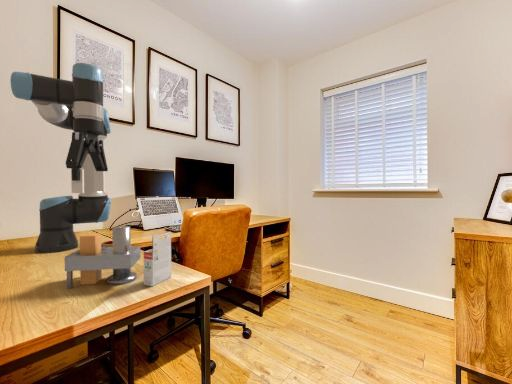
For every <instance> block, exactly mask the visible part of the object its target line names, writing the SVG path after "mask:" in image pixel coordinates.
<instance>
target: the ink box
mask: <svg viewBox="0 0 512 384" xmlns="http://www.w3.org/2000/svg"><path fill="white" fill-rule="evenodd" d="M171 233H172V232H171V230H170V231H167V232H163V233H159V234H154V235H152V236H151V238H152V241H151V242H152V249H148V250H145V251H143V285H145V286H148V287H149V286H150V287H154V286H157V285H159V284H161V283H163V282H165V281H167V280H169V279H170V278H172V234H171ZM162 236H165V237H163V238H161V237H162Z"/></svg>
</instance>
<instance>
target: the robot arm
mask: <svg viewBox="0 0 512 384" xmlns="http://www.w3.org/2000/svg"><path fill="white" fill-rule="evenodd" d="M71 77H72V79H71V80H67V79H62V78H55V77H50V76H45V75H42V74H41V75H39V74H35V73H30V72H23V71H13V72H12V73H11V75H10V88H11V92H12V94H13V96H14V98H16V99H20V100H23V101H24V100H25V101H31V102H32V104H33V105H34V106H35V107H36V108H37V112H38V115H39V116H40V117H41V118H42V119H43V120H45V121H46V122H48V123H49V124H51V125H53V126H56V127H57V128H61V129H64V130H69V131H70V130H71V131H72V132H71V141H70V145H69V148H68V152H67V155H66V159H65V166H66V169H70V172H71V173H70V174H71V177H70V178H71V180H70V181H71V182H70V183H71V194H78V195H77V197H78V198H74V197H73V195H64V196H62V195H61V196H54V197H48V198H47V197H46V198H43V199H41V200H40V202H39V209H38V211H39V235H38V237H37V240H36V243H35V246H34V251H35V252H36V253H43V254H44V253H45V254H46V253H58V252H64V251H70V250H73V249H76V248H78V247H79V241H78V238H77V235H76V233H75V230H74V225H77V224H78V225H79V224H93V223H95V224H98V223H103V222H107V221H108V220H109V219H110V212H111V203H112V198H110V197H108V193H107V192H106V190H105V188H106V187H105V186H106V185H105V184H106V183H105V172H108V170H109V168H108V164H107V159H106V154H105V149H104V141H105V140H106V139H107V138H108V135H109V134H111V124H110V123H111V122H110V118H109V117H110V116H109V113H108V110H107V108H105V107H104V74H103V71H102V69H101V68H99V67H98V66H96V65H93V64H90V63H86V62H76V63H74V64H73V65H72V71H71Z"/></svg>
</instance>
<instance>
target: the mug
mask: <svg viewBox="0 0 512 384" xmlns="http://www.w3.org/2000/svg"><path fill="white" fill-rule="evenodd" d="M101 247H113V240H107V241H103V242H101Z"/></svg>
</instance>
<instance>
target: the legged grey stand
mask: <svg viewBox="0 0 512 384" xmlns="http://www.w3.org/2000/svg"><path fill="white" fill-rule="evenodd" d="M111 231H112V233H111V234H112V241H113V247H101V252H99V253H97V254H80V248H79V249H78V250H76V251H73V252H72V253H69V254H68V255H66V256H64V272H66V289H69V290H70V289H73V287H74V285H73V284H74V278H73V277H74V274H73V272H76V271H79V272H80V271H82V270H101V271H102V270H112V274H110V275H109V276H107V277H106V283H107V284H108V285H112V286H117V285H118V286H120V285H126V284H129V283H131V282H135V280H137V273H136V272H133V271H132V270H131V269H132V267H134V265H135V264H136V263H137V262H138V261H140V260H141V245H131V244H132V243H131V226H130V225H129V226H128V225H123V226H121V225H119V226H114V227H112V230H111Z"/></svg>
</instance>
